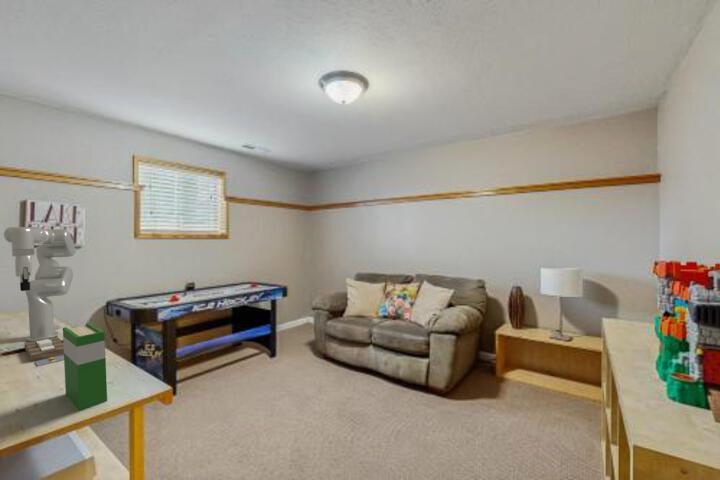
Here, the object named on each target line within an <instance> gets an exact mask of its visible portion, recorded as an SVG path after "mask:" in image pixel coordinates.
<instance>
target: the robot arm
mask: <svg viewBox="0 0 720 480" xmlns="http://www.w3.org/2000/svg"><path fill="white" fill-rule="evenodd" d="M3 236H4V239H5V241H7V242H8V243H11V254H12V255H11V256H12V257H15V258H14V259H15V262H14V265H15V277H17V278H19V279H20V282H19V287H20V288H19V289H20V291H21V292H25V294H26V298H27V306H28V322H29V324H28V325H29V336H26V338H25V340H26V342H30V341H35V340H41V339H46V338H51V337H56V336H57V337H58V336H59V332H58V331H57V330H60V329H61V326H60V325H56V326H55V321H54V320H55V319H54V304H53V302H52V300H51V299H49V298H48V297H59V296H64V295H66V294H67V293H68V292H69V290H70V287H71V284H72V281H73V277H74V272H73V270H72V268H71V267H69V266H60V263H59V262H58V261H56V260H55V259H54V258H71V257H72V256H74V255H75V253H76V247H75V246H76V245H75V244H74V241H73V238H72V235H71V234H70V232H69V230H67V229H64V228H62V229H61V228H57V229H55V228H54V229H53V228H51V229H50V228H41V227H36V226H14V227H13V226H12V227H11V226H10V227H8V228H6V229H5V230H4V232H3ZM35 244H38V246H37V247H36V250H35ZM35 251H36V258H37V261H38V263H39V266H38V269H37V270H36V271H35V272H36V273H35V275H34V280H30V277H31V276H32V269H33V268H32V265H33V264H32V256H35Z"/></svg>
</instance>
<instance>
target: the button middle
mask: <svg viewBox="0 0 720 480" xmlns="http://www.w3.org/2000/svg"><path fill="white" fill-rule="evenodd" d="M50 345H52V341H51V340H47V341H42V342H38V347H39V348H40V347H45V346H50Z"/></svg>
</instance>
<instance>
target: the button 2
mask: <svg viewBox="0 0 720 480" xmlns="http://www.w3.org/2000/svg"><path fill="white" fill-rule="evenodd" d="M54 348H55V347H54V346H53V345H52V346H47V347H42V348H40V350H41V351H45V350H49V349H54Z"/></svg>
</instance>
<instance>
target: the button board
mask: <svg viewBox="0 0 720 480" xmlns="http://www.w3.org/2000/svg"><path fill="white" fill-rule="evenodd" d="M46 339H49V340H51V341H52V345H53V346H54V347H55V348H54V349H49V350H45V351H41V350H40V348H42V347H40V348H39V347H38V344H36V341H41V340H46ZM46 339H41V340H35V341H25V342H24V343H23V345H24V350H25V351H26V354H27V356H28V358H29V360H30V362H31V363H35V361H39V360H43V359H48V358H51V357H56V356H61V355H64V345H63V341H62V340H61V339H60V338H59V337H58V335H57V336H55V337H51V338H46ZM52 345H50V346H52ZM45 347H47V346H45Z"/></svg>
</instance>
